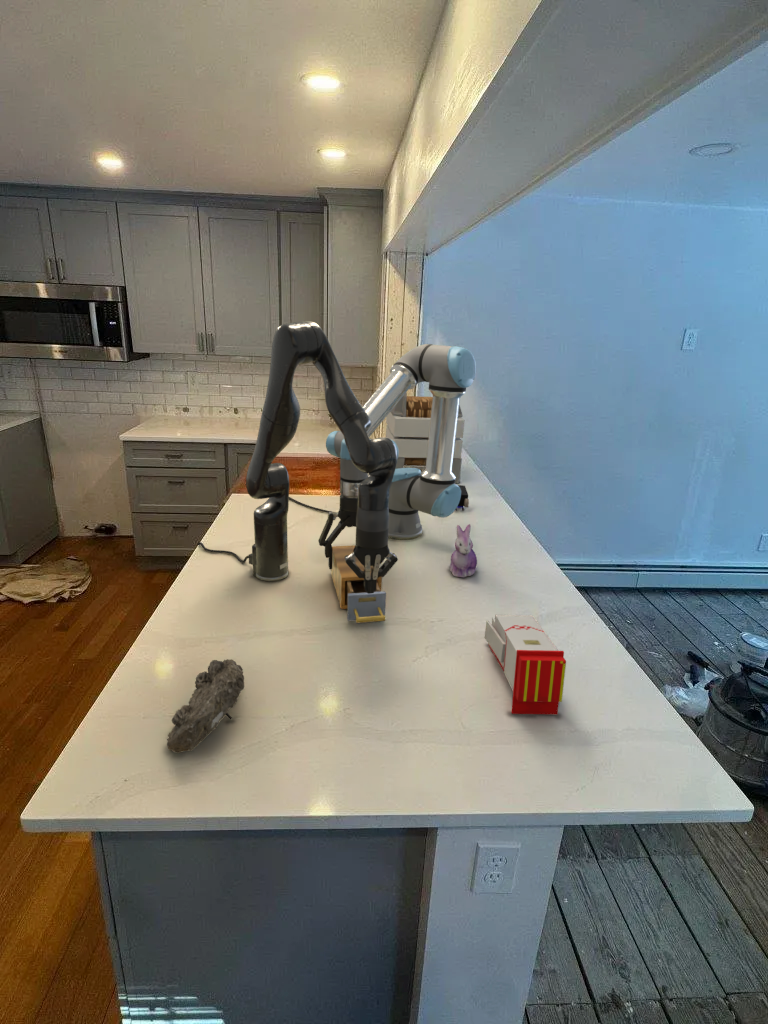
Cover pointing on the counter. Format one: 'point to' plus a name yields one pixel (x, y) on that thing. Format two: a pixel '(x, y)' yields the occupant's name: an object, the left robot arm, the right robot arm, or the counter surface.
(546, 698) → the toy
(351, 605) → the drawer
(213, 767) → the counter surface
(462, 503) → the figurine character
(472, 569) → the figurine
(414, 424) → the white slatted crate
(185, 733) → the fossil
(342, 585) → the cabinet
